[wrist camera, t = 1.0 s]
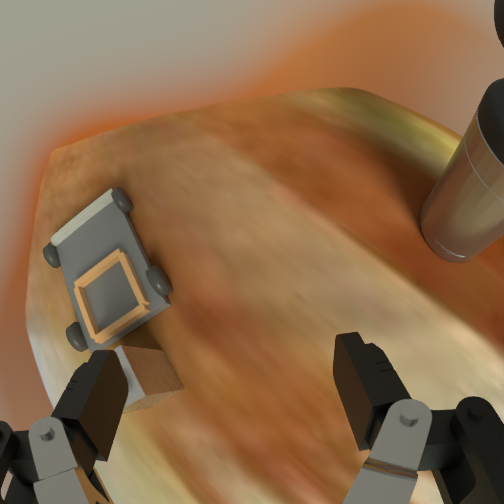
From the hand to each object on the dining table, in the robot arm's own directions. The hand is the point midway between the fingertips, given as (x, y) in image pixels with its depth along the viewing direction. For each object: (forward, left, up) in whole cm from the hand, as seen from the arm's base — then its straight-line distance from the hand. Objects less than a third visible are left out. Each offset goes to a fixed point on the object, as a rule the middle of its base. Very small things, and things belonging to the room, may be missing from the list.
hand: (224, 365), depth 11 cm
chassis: (+3, -24, -22) cm, 33 cm away
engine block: (+10, -10, -22) cm, 26 cm away
